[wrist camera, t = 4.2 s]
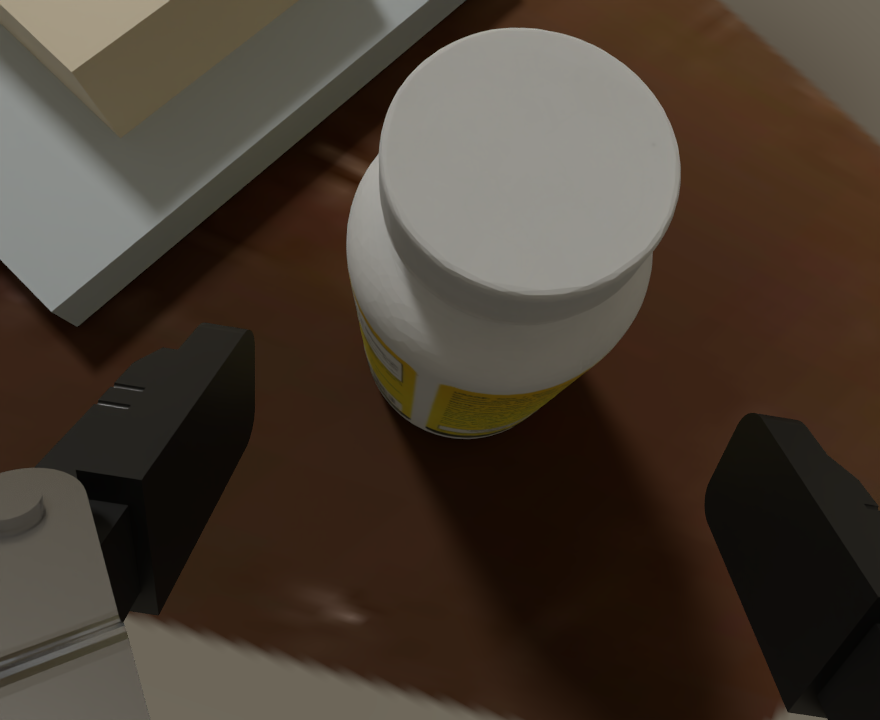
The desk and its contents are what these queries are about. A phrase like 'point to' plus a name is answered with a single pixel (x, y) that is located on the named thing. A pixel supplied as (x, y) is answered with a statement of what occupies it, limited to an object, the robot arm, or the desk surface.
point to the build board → (162, 119)
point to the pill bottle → (507, 226)
